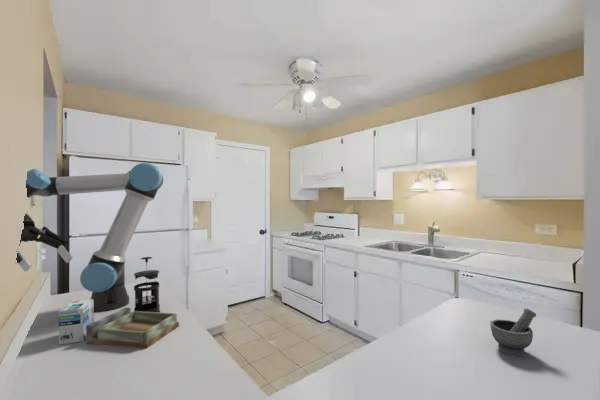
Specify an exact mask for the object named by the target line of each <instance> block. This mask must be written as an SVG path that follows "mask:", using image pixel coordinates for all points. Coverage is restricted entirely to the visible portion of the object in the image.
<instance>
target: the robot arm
mask: <svg viewBox="0 0 600 400" xmlns="http://www.w3.org/2000/svg"><path fill="white" fill-rule="evenodd" d="M26 172H27V180H26V188H27V197H28V199H30V198H31V197H32V196H40V197H51V196H61V195H74V194H90V193H102V192H117V191H119V192H120V191H125V197H124V199H123V201H122V202H121V205H120V207H119V209H118V211H117V213H116V215H115V216H114V217H115V218H114V219H113V222H112V223H111V225H110V228H109V230H108V232H107V234H106V236H105V238H104V241H103V242H102V244H101V246H100V249H99V250H95V251H94V252H93V254H92V255H91V257H90V260H89V262H88V264H87V265H86V266H85V267H84V269H82V271H81V273H80V276H79V277H80V278H79V279H80V280H79V281H80V284H81V285H82V287H83V288H84V289H85V290H86V291H89V292H91V296H90V299H89V300H91V299H93V300H94V312H105V311H106V312H107V311H111V310H117V309H120V308H122V307H125V306H127V305H128V304H129V303H130V296H129V295H128V292H127V289H126V285H125V284H126V282H125V280H126V276H125V263H126V258H125V253H126V251H127V249H128V247H129V245H130V242H131V241H132V238H133V236H134V234H135V232H136V230H137V227H138V225H139V223H140V221H141V218H142V216H143V214H144V212H145V210H146V207H147V205H148V204H149V202H151V201H153V200H154V199H155V197H156V196H157V192H158V190H160V188H161V187H162V185H163V183H164V176H163V173H162V170H161V169H160V168H159V167H157V165H155V164H152V163H149V162H141V163H137V164H135V166H132V168H131V169H130V170H128V171H127V172H126V173H110V174H109V173H107V174H89V175H69V176H49V177H48V175H47V174H45V173H44V172H43V171H42V170H40V169H38V168H32V169H30V170H28V171H26ZM23 223H24V229H23V230H22V234H21V240H20V244H19V246H20V245H21V243H22V242H24V243H26V242H37V243H39V242H40V243H42V244H45V245H47V246H50V247H51V248H55V249H56V250H55V251H56V252H57V253H58V254H59V256H60V257H61V258H62V259H63V260H64V262H65V263H66V264H68V263H70V262H71V260H72V259H73V256H72V255H71V253H70V251H69V249H68V248H67V245H68V243H69V241H68V240H67V239H64V238H63V237H61V235H58V234H56V233H54V232H53V231H51V230H50V229H49V228H48V227H46V226H43V227H42V228H37V226H36V224H35V222H34V220H33V218H32V217H31V216H30V215H29V214H28V212H26V214H25V216H24V221H23ZM17 252H18V253H17V258H16V260H17V263H16V264H18V265H19V266H20V268H21V269H22V270H23V271H24V272H28V271H29V270H30V268H31V267H32V263H31V262H30V261H29V260H28V258H27V257H26V256H25V254H24V253H23V252H22V251H21V250H17Z"/></svg>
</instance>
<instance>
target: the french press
mask: <svg viewBox="0 0 600 400" xmlns="http://www.w3.org/2000/svg"><path fill="white" fill-rule="evenodd" d="M151 259H153V257H152V256H145V257H141V258H140V260H144V261H145V267H146V268H145V270H141V271H136V272H134V273H133V276H134V278H135V279H134V280H137V279H138V278H142V277H144V278H145V279H146V282H141V283H138V284H135V285H134V286H133V291H134V306H135V307H134V309H133V312H136V311H143V312H160V313H161V309H160V307H161V305H160V294H159V293H160V291H159V290H160V282H159V281H157V280H156V281H148V280H155V279H157V278H158V277H159V274H160V271H159V270H157V269H153V270H152V269H149V270H148V263H149V260H151ZM148 286H149V287H148ZM148 291H150V295H148ZM143 292H146V295H144V296H143Z"/></svg>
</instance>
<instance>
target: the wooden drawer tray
mask: <svg viewBox="0 0 600 400" xmlns="http://www.w3.org/2000/svg"><path fill="white" fill-rule="evenodd" d="M177 318H178V313H174V312H161V311H160V312H143V311H136V312H134V311H132V312H131V307H125V308H123V309H120V310H119V311H115V312H113V313H111V314H109V315H107V316H105V317H102V318H100V319H97V320H96V321H94V322H93V323H91V324H89V325H87V326H86V334H87V337H86V344H94V345H95V344H96V345H106V346H117V347H118V346H119V347H127V348H128V347H129V348H142V349H148V348H149V347H151V346H152V345H154V344H155V343H157V342H158V341H160V340H161V339H162V338H164V337H166V336H167V335H168V334H170V333H171V332H173V331H174V330H176V328H178V327H180V322H179V321H178V320H177Z"/></svg>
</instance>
